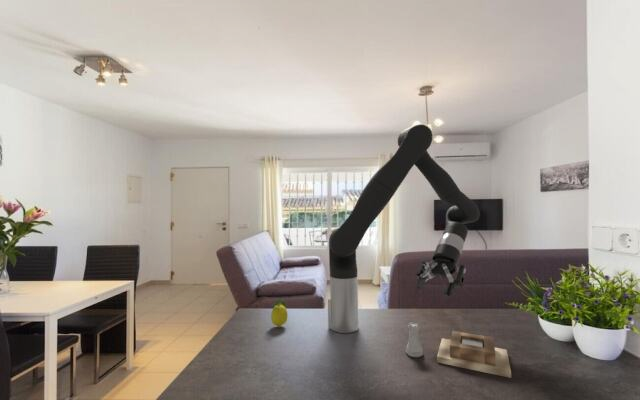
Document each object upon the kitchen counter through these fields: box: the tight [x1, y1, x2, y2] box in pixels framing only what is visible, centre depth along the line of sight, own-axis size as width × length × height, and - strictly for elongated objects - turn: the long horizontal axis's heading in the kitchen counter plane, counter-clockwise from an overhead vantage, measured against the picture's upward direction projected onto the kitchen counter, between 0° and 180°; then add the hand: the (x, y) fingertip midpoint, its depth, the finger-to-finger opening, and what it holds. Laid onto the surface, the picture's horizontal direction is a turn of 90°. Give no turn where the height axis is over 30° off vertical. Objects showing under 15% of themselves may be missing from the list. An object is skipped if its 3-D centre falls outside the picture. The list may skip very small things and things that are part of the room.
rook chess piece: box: [405, 321, 424, 358], centre depth 80 cm, size 4×4×8 cm
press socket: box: [436, 330, 512, 379], centre depth 77 cm, size 16×12×4 cm
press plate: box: [462, 338, 483, 347], centre depth 77 cm, size 5×5×1 cm
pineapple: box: [270, 299, 288, 328], centre depth 100 cm, size 7×6×10 cm
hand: (432, 292), depth 88 cm, fingers open, 8 cm apart
